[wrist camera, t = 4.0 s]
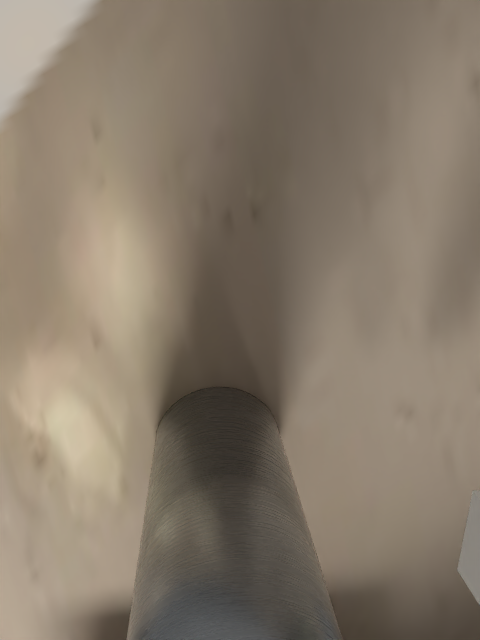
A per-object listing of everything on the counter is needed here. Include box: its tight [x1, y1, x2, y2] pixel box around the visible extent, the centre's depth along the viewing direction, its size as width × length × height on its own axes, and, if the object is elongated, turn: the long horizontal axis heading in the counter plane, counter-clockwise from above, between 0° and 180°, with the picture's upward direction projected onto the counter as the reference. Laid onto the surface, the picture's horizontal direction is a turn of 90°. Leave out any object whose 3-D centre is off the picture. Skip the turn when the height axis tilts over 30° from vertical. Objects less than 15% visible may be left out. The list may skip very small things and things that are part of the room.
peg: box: [126, 387, 343, 640], centre depth 10 cm, size 4×4×14 cm
